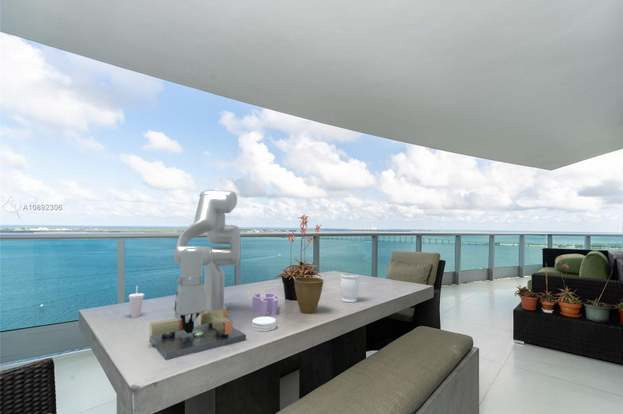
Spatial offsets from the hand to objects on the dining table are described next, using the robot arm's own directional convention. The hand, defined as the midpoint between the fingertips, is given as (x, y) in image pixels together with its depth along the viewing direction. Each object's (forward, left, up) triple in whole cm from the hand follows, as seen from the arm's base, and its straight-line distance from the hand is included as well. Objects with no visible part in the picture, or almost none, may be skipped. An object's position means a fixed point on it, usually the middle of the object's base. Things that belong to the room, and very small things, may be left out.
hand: (188, 332), depth 115 cm
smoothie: (-45, -8, -3) cm, 46 cm away
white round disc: (+4, +30, -4) cm, 30 cm away
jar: (-7, +95, -3) cm, 95 cm away
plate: (+2, +3, -3) cm, 5 cm away
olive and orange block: (-3, -7, -1) cm, 7 cm away
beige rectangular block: (-5, +11, -1) cm, 12 cm away
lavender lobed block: (-18, +45, -4) cm, 49 cm away
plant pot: (-4, +61, -3) cm, 61 cm away
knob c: (+7, +10, -1) cm, 12 cm away
